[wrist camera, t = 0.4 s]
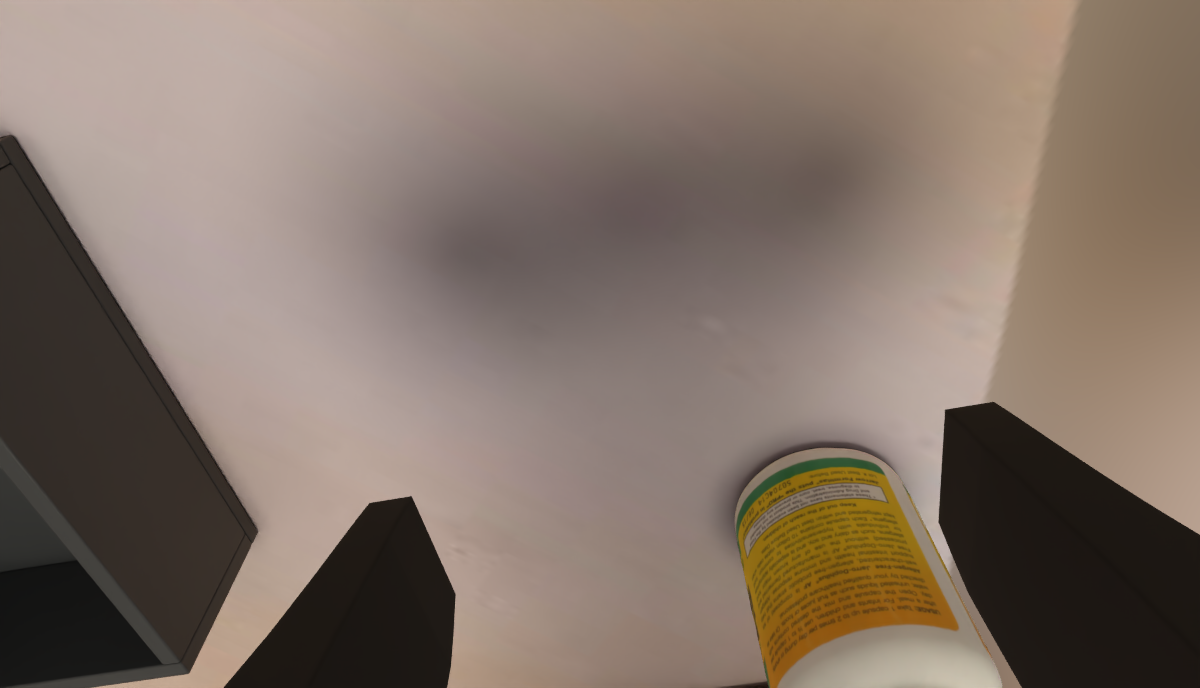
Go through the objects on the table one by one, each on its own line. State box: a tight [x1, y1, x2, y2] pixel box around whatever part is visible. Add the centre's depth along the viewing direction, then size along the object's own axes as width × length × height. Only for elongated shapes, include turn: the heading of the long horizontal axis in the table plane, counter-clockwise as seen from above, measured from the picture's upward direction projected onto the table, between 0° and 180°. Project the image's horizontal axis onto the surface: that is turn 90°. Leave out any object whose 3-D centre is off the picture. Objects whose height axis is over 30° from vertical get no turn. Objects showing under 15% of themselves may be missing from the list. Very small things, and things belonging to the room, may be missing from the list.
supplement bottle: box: [735, 448, 1003, 688], centre depth 20 cm, size 5×5×10 cm
